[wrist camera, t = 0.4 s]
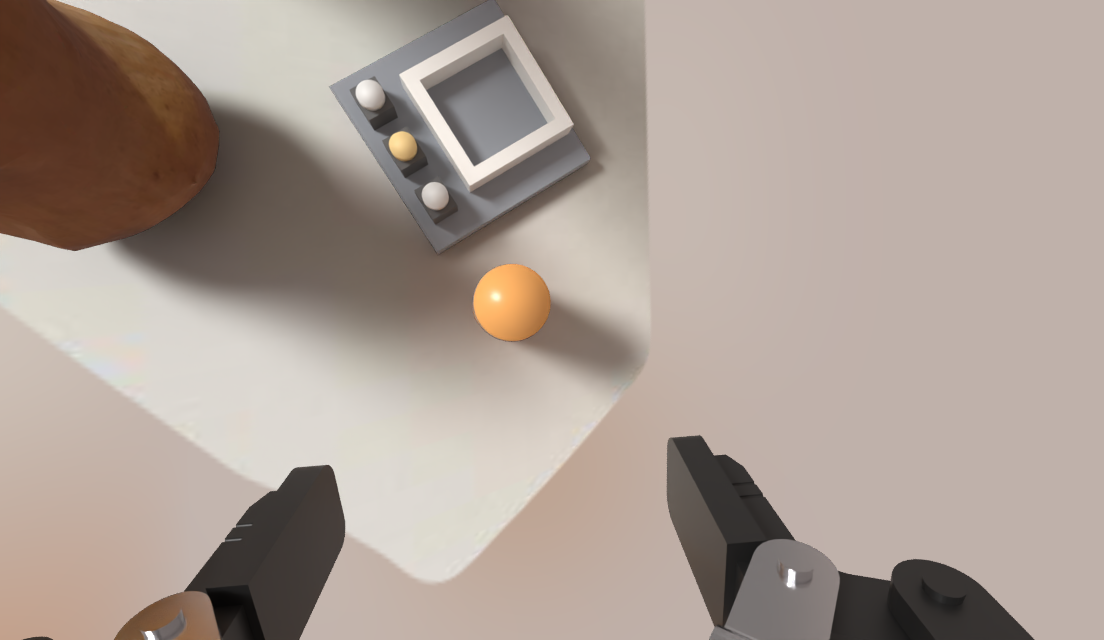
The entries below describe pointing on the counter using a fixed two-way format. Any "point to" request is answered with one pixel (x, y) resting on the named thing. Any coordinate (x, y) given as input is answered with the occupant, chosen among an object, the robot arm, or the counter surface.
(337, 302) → the counter surface
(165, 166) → the butternut squash
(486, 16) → the board
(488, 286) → the orange domed cylinder
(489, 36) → the frame
